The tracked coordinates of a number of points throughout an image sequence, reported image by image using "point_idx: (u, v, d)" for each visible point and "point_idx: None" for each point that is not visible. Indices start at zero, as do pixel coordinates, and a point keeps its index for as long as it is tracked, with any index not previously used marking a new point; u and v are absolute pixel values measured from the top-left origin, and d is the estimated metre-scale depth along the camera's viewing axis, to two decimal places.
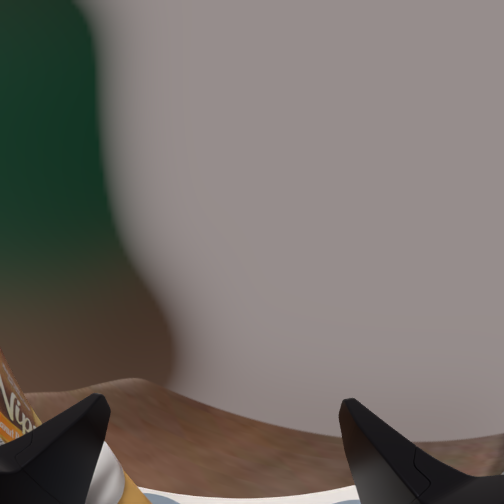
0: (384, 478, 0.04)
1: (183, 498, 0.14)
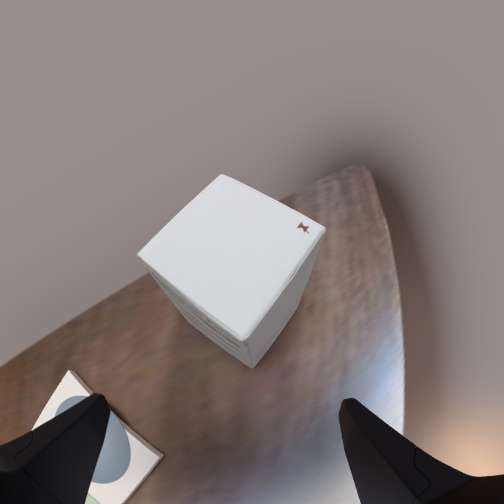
0: (384, 478, 0.04)
1: None
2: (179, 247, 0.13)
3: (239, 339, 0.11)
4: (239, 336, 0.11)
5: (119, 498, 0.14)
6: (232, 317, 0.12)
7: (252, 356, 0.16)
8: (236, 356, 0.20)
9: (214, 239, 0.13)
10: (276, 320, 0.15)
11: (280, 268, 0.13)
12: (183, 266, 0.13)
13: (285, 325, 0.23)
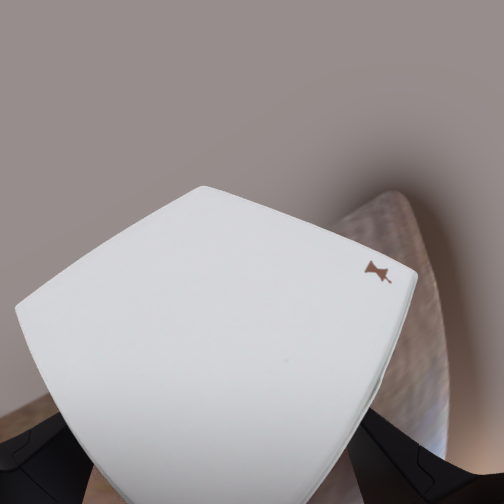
0: (388, 477, 0.04)
1: None
2: (83, 304, 0.05)
3: None
4: None
5: None
6: None
7: None
8: None
9: (162, 293, 0.05)
10: None
11: (342, 374, 0.04)
12: (76, 351, 0.04)
13: None
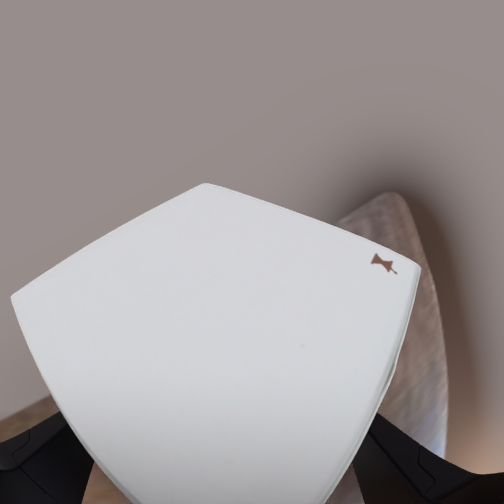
0: (388, 477, 0.04)
1: None
2: (84, 293, 0.05)
3: None
4: None
5: None
6: None
7: None
8: None
9: (169, 281, 0.05)
10: None
11: (358, 358, 0.04)
12: (77, 340, 0.04)
13: None
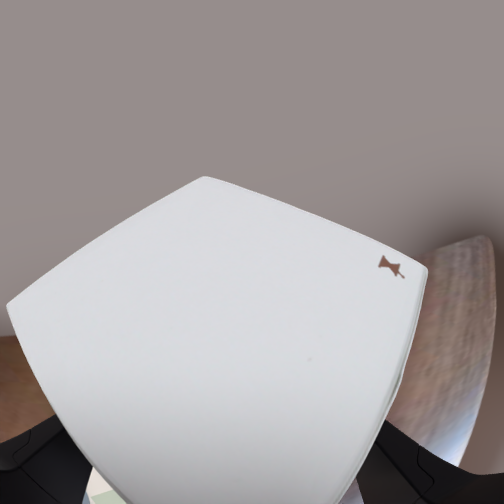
0: (388, 477, 0.04)
1: None
2: (81, 302, 0.04)
3: None
4: None
5: None
6: None
7: None
8: None
9: (170, 288, 0.05)
10: None
11: (365, 371, 0.04)
12: (76, 353, 0.04)
13: None
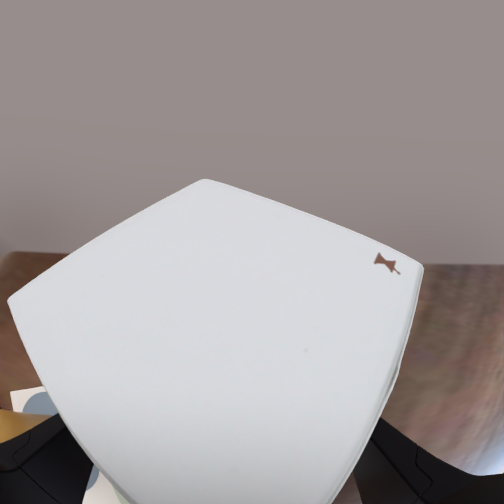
0: (386, 477, 0.04)
1: None
2: (82, 296, 0.04)
3: None
4: None
5: None
6: None
7: None
8: None
9: (169, 282, 0.05)
10: None
11: (361, 363, 0.04)
12: (75, 344, 0.04)
13: None
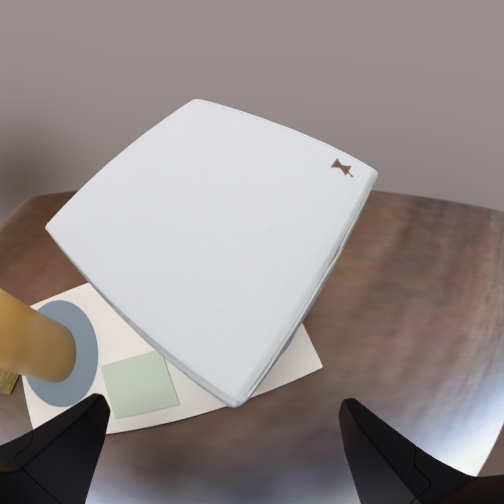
0: (384, 478, 0.04)
1: (69, 294, 0.19)
2: (109, 208, 0.06)
3: (227, 404, 0.04)
4: (226, 398, 0.04)
5: (219, 401, 0.15)
6: (209, 354, 0.05)
7: None
8: None
9: (173, 187, 0.06)
10: None
11: (310, 240, 0.06)
12: (110, 243, 0.06)
13: None
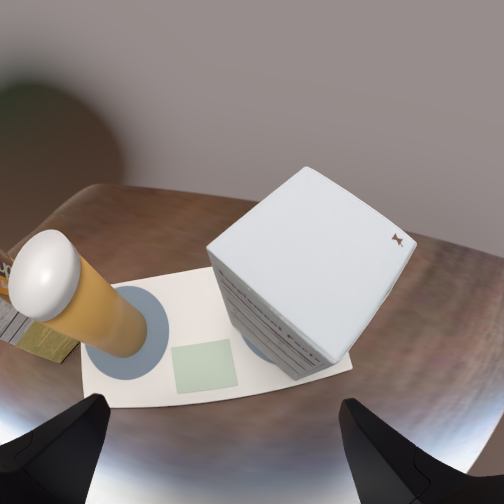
0: (384, 478, 0.04)
1: (144, 282, 0.24)
2: (262, 245, 0.11)
3: (331, 362, 0.09)
4: (331, 359, 0.09)
5: (270, 385, 0.20)
6: (325, 336, 0.09)
7: None
8: (286, 368, 0.17)
9: (305, 240, 0.11)
10: None
11: (377, 283, 0.10)
12: (267, 269, 0.11)
13: None
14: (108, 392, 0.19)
